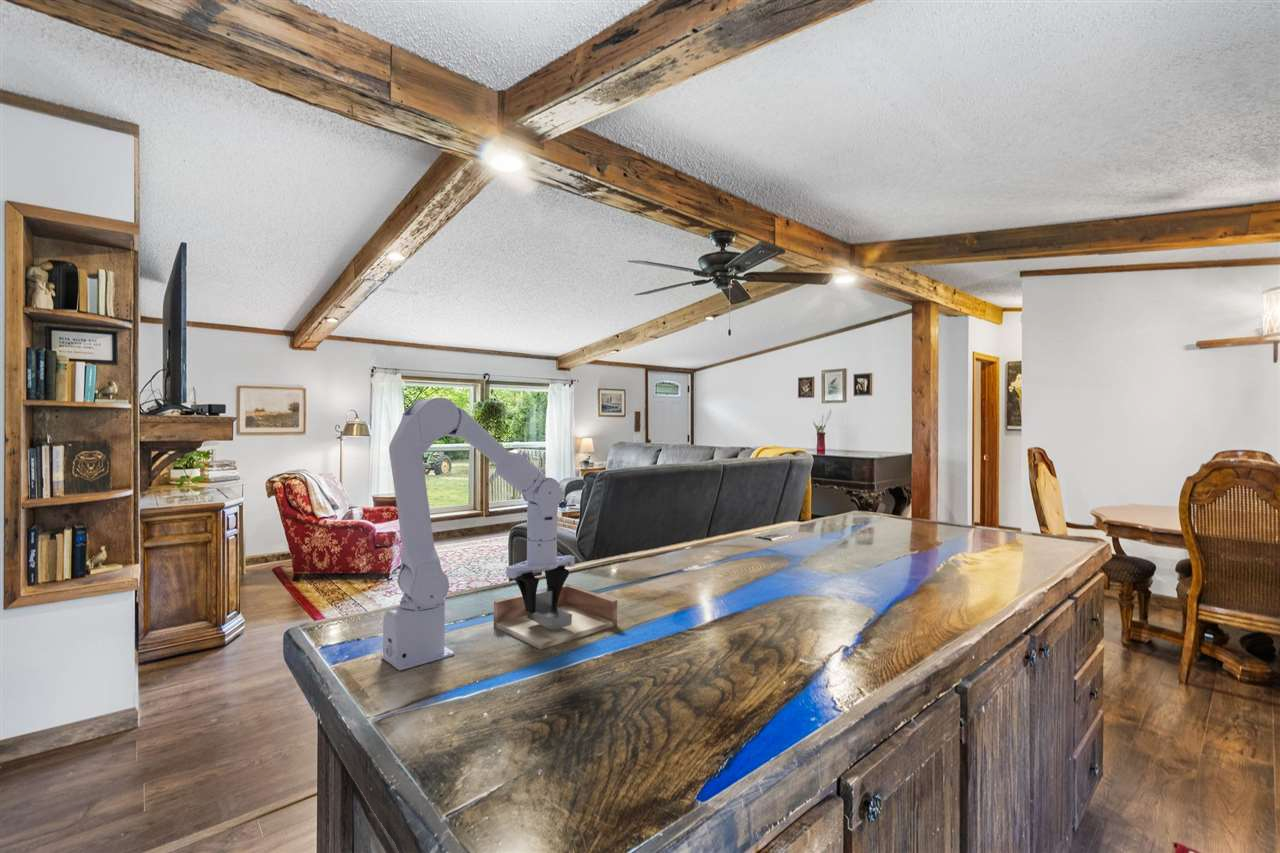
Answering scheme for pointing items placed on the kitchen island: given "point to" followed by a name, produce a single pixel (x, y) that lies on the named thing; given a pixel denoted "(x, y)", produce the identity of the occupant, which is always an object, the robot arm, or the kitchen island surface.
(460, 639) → the kitchen island surface
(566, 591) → the corner arena
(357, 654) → the kitchen island surface
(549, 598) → the angle bracket
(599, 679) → the kitchen island surface
